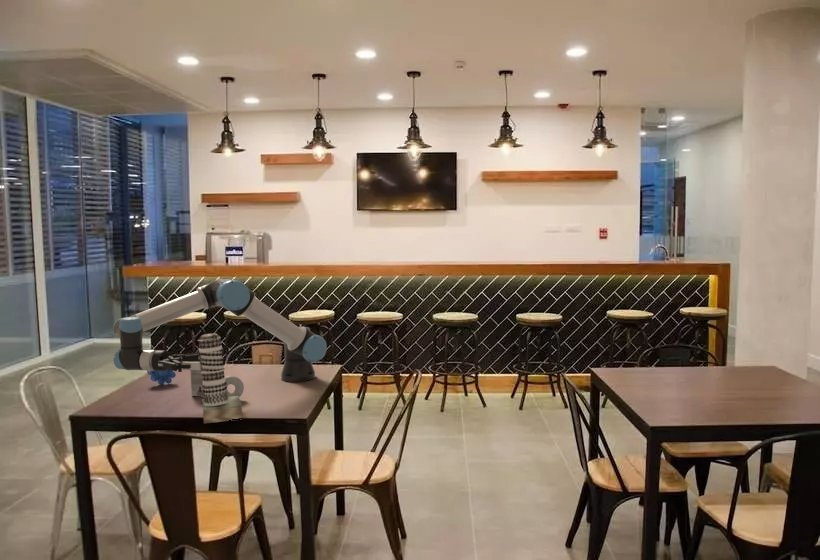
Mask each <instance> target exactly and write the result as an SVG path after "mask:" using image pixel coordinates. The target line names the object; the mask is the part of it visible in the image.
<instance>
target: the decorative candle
mask: <svg viewBox="0 0 820 560" xmlns="http://www.w3.org/2000/svg"><path fill="white" fill-rule="evenodd" d="M197 342H198V346H199V348H198V351H197V352H196V353H198V354H199V355H200V356H199V358H198V359H199V360H200V361H199V362H200V364H201V373H202V376H203V386H202V388H204V390H203V392H204V393H205V394H204V395H203V397H202V398H204V402H205V404H204V405H205V406H217V405H222V404H225V403H227V402H228V400H227V399H228V396H227V394H228V392H227V391H226V389H227V390H228V386H227V387H226V386H225V385H226V384H227V383H226V382H225V377H226V376H225V370H226V368H225V367H224V366H225V365H226V363H225V358H223V357H224V356H225V354H226V353H224V351H225V348H223V346H222V340H221V336H220V335H219V334H217V333H206V334H205V333H204V334H202V335H201V336H200V337H199V339H197Z"/></svg>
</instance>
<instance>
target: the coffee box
mask: <svg viewBox="0 0 820 560" xmlns="http://www.w3.org/2000/svg"><path fill="white" fill-rule="evenodd" d="M194 362H199V361H194ZM200 366H201V364H200ZM189 371H190V387H191V388H190V389H191V397H192V396H202V397H201V398H204V397H203V395H204V394H205V393H204V392H203V390H204V388H202V386H203V376H202V373H201V370H189Z"/></svg>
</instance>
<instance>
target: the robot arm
mask: <svg viewBox="0 0 820 560" xmlns="http://www.w3.org/2000/svg"><path fill="white" fill-rule="evenodd" d="M214 307H222V308H223V309H225V310H227V311H228V312H229V313H232V314H233V315H235V316H237V317H241V316H244V317H245V318H246V319H248V320H250V321H252V323H254V324H256V325H257V326H259V327H260V328H262V329H264V330H265V331H267V332H268V333H269V334H271V335H273V336H274V337H275V338H277V339H279V341H282V342H283V345H284V346H283V348H284V349H283V350H284V364H283V367H282V370H281V375H280V376H281V378H280V379H281V380H282V381H284V382H291V383H292V382H293V383H294V382H295V383H296V382H297V383H299V382H301V383H302V382H306V381H307V380H308V381H310V380H311V381H312V380H313V379H315V378H316V372H315V368H314V366H313V363H316V362H319V361H321V360H322V359H323V358H324V357H325V356H326V353H327V350H328V348H327V341H326V340H325V339H324V337H323V336H321V335H318V334H316V333H314V332H313V331H311V328H310V327H309V326H297V325H296V324H294V322H292V321H290V320H288V319H287V318H286V317H284V315H282V314H280V313H278V312H277V311H276V310H274V309H273V308H271V307H270V306H268V305H266V304H265V303H264V302H262V300H261V301H260V300H259V299H258V298H257V297H256V293H255V292H254V291H253V290H251V289H250V288H249V287H248V286H247V285H246V284H245V283H243V282H242V281H240V280H238V279H230V278H226V277H225V278H218V279H215V280H212V281H210V282H208V283H206V284H204V285H201V286H198V287H197V288H196V291H193V292H191V293H187V294H184V295H182V296H180V297H176V298H174V299H172V300H169V301H167V302H164V303H161V304H159V305H156V306H154V307H152V308H149V309H145V310H144V311H141V312H138V313H136V314H133V315H131V316H127V317H126V316H125V317H121V318H118V319H117V320H116V321H115V322H114V324H113V332H114V334H115V336H116V337H118V338H119V342H120V343H119V344H120V349H118V350H116V352H115V353H114V354H113V355H114V357H113V364H114V367H115V368H117V369H118V370H124V371H125V370H126V371H147V370H148V372H151V370H152V371H154V370H155V371H166V370H167V369H168V370H172V371H173V372H178V373H181V372H182V371H190V370H201V366H200V362H194V361H200V360H199V359H198V358H199V356H200V355H199V354H198V353H197V352H196V353H195V352H194V353H177V354H172V355H171V354H170V352H169V351H168V350H164V349H163V350H161V349H159V350H158V349H157V350H156V349H144V348H143V333H144V332H146V331H149V330H152V329H155V328H156V327H158V326H162V325H164V324H166V323H169V322H171V321H174V320H177V319H180V318H182V317H184V316H187V315H190V314H191V313H194V312H196V311H199V310H202V309H205V310H208V309H211V308H214ZM308 381H307V382H308Z"/></svg>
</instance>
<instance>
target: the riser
mask: <svg viewBox="0 0 820 560" xmlns="http://www.w3.org/2000/svg"><path fill="white" fill-rule="evenodd" d="M227 400H228V402H227V403H225V404H222V405H217V406H205V405H204V404H205V402H204V399H202V414H203V424H211V423H212V424H213V423H221V422H229V420H231V421H233V420H232V419H238V418H242V419H243V406H242V402H241V399H240V397H239V396H232V397H228V399H227Z"/></svg>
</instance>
